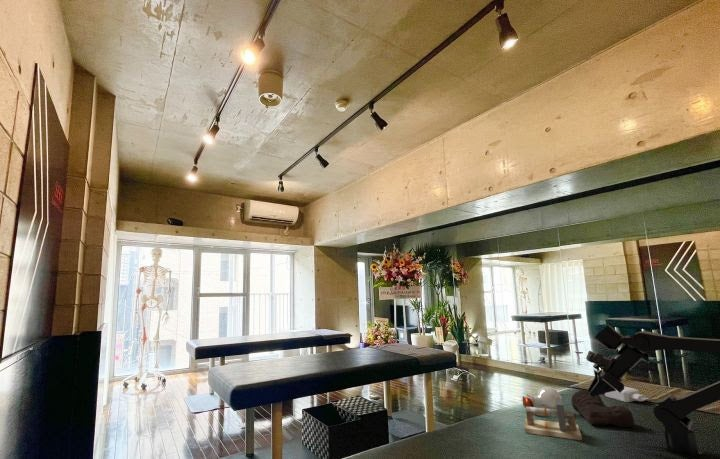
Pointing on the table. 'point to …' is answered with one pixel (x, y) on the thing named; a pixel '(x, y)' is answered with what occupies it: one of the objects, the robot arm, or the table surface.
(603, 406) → the brown curved lump
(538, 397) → the potion bottle
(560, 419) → the collar
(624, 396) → the charger
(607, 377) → the robot arm
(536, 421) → the pipe rig
